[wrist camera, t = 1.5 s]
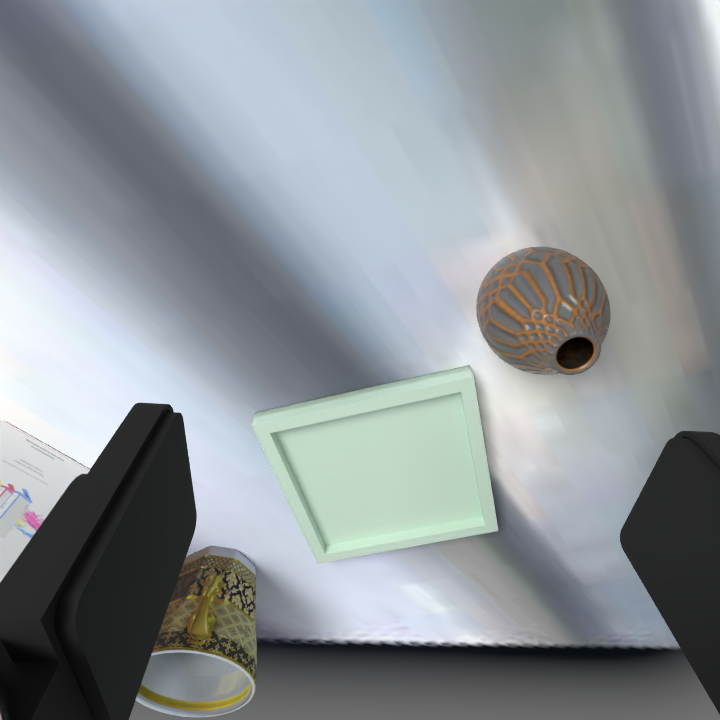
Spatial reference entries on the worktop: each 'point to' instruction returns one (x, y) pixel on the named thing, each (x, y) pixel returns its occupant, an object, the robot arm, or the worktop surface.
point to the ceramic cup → (205, 639)
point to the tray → (383, 465)
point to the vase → (544, 311)
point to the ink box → (28, 488)
